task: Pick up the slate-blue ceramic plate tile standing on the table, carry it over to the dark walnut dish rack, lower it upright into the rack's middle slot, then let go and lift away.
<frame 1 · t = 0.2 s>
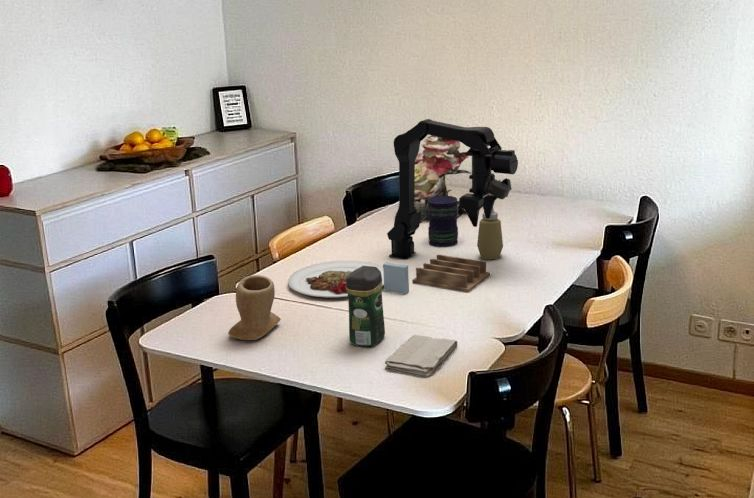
hand: (481, 222, 250), 15 cm above the table, tool pointing down, fingers open, 9 cm apart
stone cup: (258, 332, 217), on the table
dish rack: (451, 279, 247), on the table
squeeze bottle: (490, 257, 265), on the table
rose bouquet: (433, 214, 313), on the table
storage jar: (443, 243, 280), on the table
plate tile: (396, 291, 240), on the table
washcloth: (421, 360, 198), on the table
coffee jar: (367, 340, 209), on the table
plated food: (339, 283, 249), on the table
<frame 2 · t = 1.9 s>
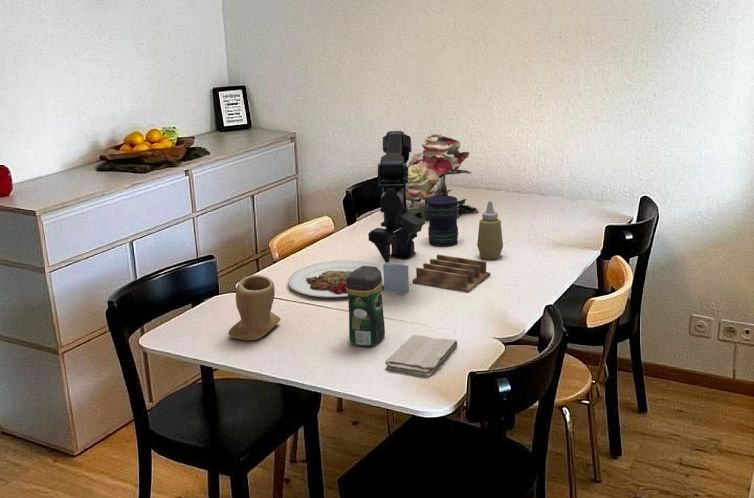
hand: (395, 257, 237), 10 cm above the table, tool pointing down, fingers open, 9 cm apart
nothing on the table moved.
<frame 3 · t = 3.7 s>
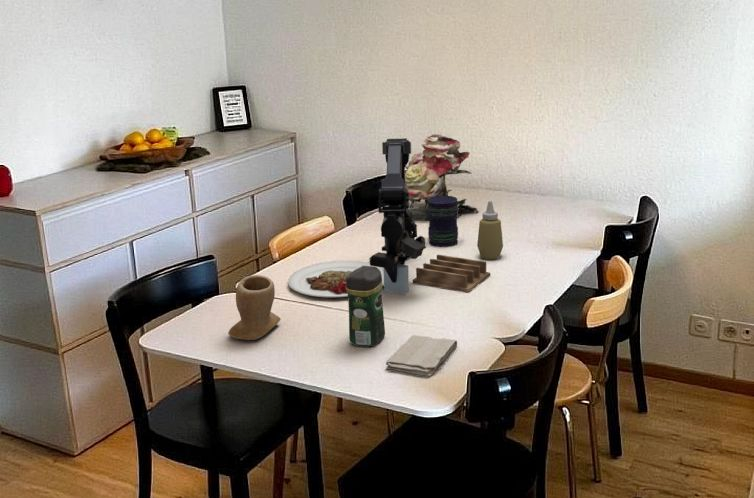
hand: (396, 281, 239), 3 cm above the table, tool pointing down, fingers closed on plate tile, 2 cm apart
plate tile: (396, 291, 240), on the table, touching gripper
everything else where it was.
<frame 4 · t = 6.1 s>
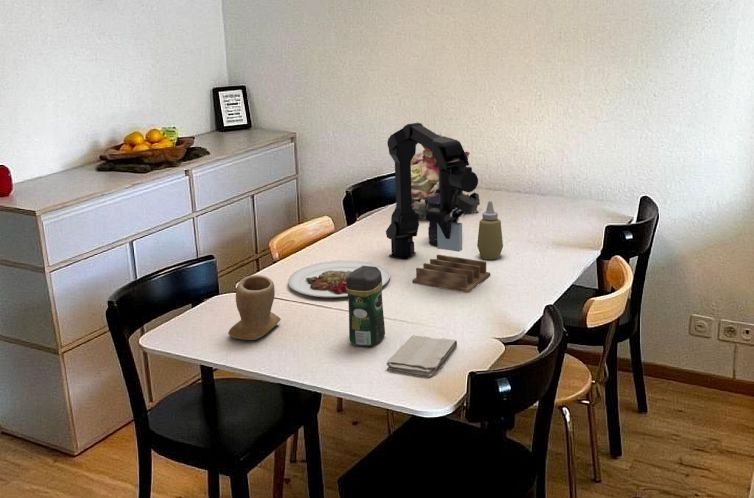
hand: (449, 237, 243), 13 cm above the table, tool pointing down, fingers closed on plate tile
plate tile: (449, 249, 244), point 10 cm above the table, touching gripper
everything else where it was.
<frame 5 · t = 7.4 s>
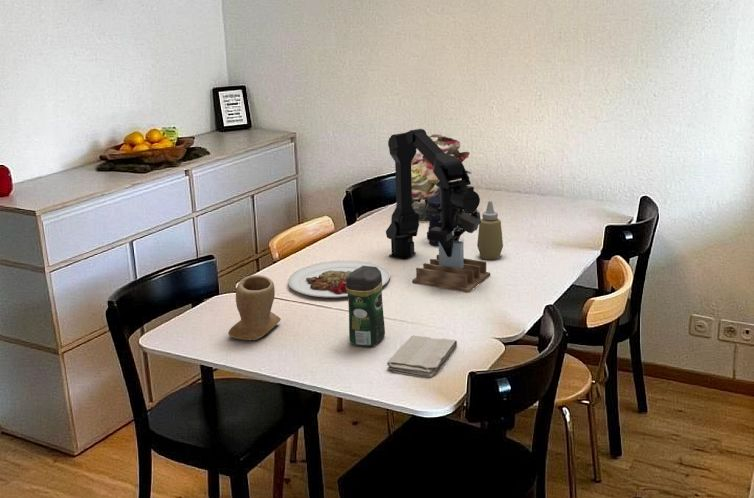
hand: (451, 255, 245), 7 cm above the table, tool pointing down, fingers closed on plate tile
plate tile: (451, 267, 246), point 4 cm above the table, touching gripper
everything else where it was.
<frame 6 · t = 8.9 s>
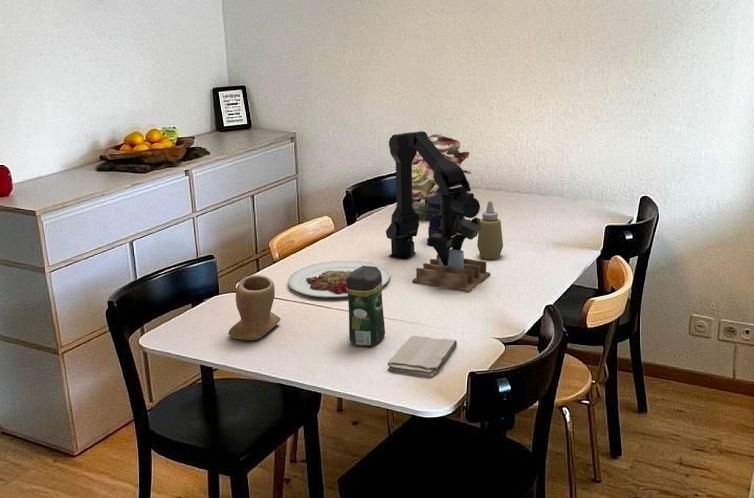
hand: (451, 261, 245), 5 cm above the table, tool pointing down, fingers open, 7 cm apart
plate tile: (451, 276, 247), point 1 cm above the table, touching dish rack
everything else where it was.
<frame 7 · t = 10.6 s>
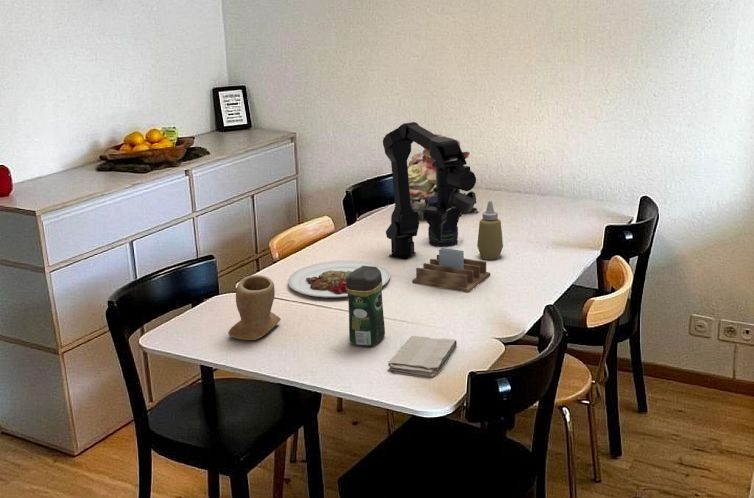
hand: (446, 235, 246), 13 cm above the table, tool pointing down, fingers open, 9 cm apart
nothing on the table moved.
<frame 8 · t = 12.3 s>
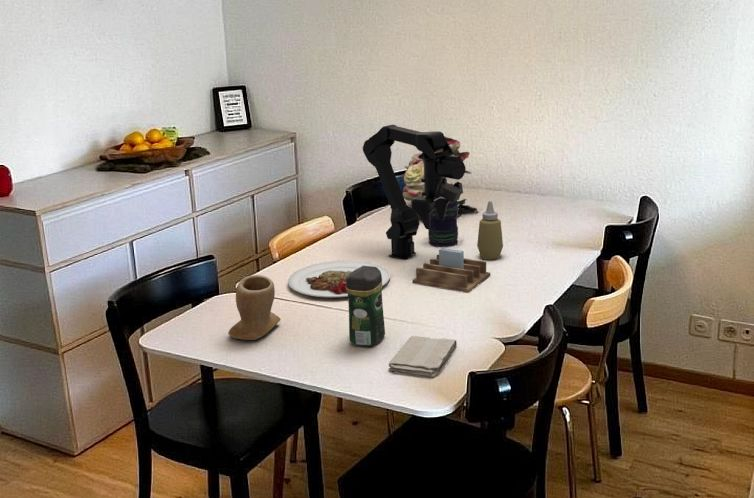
hand: (434, 224, 255), 13 cm above the table, tool pointing down, fingers open, 9 cm apart
nothing on the table moved.
at the end: plate tile inside the target area on the dish rack (0.0 cm from its centre), point 1.0 cm above the dish rack's base; plate tile tilted 0°; the gripper is holding nothing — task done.
